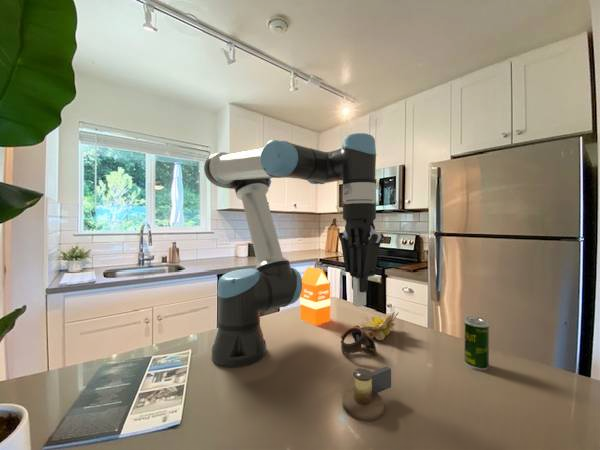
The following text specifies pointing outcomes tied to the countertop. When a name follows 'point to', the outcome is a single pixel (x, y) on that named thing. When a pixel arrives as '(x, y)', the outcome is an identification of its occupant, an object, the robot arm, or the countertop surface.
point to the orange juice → (315, 297)
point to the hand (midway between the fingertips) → (359, 304)
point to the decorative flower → (379, 325)
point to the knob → (370, 383)
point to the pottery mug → (357, 341)
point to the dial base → (362, 407)
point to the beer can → (477, 343)
